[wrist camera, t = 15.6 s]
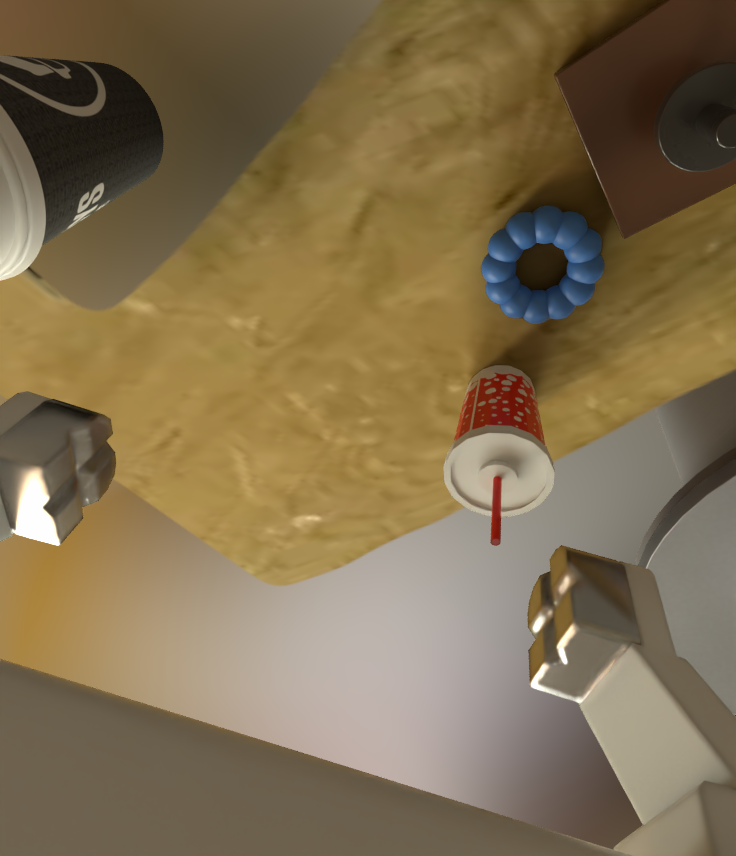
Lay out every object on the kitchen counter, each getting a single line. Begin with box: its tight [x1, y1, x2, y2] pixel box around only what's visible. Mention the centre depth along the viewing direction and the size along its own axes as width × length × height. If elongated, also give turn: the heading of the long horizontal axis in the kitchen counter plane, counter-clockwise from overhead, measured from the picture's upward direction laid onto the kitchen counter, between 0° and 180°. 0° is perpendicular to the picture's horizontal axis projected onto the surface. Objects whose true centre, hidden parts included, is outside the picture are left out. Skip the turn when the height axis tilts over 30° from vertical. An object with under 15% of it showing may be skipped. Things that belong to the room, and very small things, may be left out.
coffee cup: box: [0, 55, 163, 280], centre depth 28 cm, size 10×10×15 cm
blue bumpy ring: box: [481, 205, 604, 324], centre depth 32 cm, size 7×7×2 cm
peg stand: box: [554, 0, 736, 239], centre depth 24 cm, size 9×9×8 cm
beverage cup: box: [444, 365, 554, 546], centre depth 33 cm, size 6×6×14 cm
